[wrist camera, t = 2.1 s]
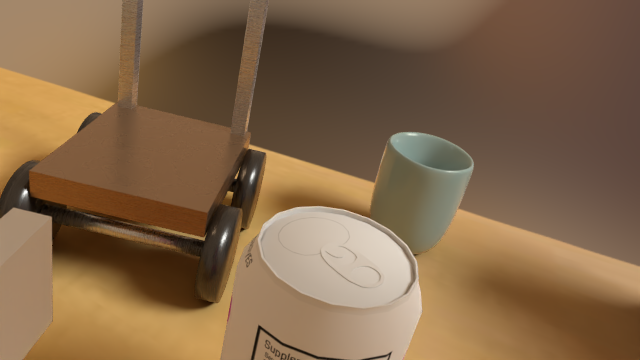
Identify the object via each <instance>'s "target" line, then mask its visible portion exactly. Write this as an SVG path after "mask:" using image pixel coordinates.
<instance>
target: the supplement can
mask: <svg viewBox="0 0 640 360" xmlns="http://www.w3.org/2000/svg"><path fill="white" fill-rule="evenodd" d="M418 280H419V276H418V264H417V261H416V259H415V257H414V256H413V254H412V252H411V251H410V249H409V247H408V246H407V244H405V243H404V242H403V241H402V240H401V239H400V238H399V237H398V236H396V235H395V234H394V233H393V232H392V231H391V230H389V229H388V228H386V227H384V226H382V225H380V224H379V223H377V222H375V221H373V220H372V219H370V218H367V217H364V216H361V215H359V214H356V213H353V212H350V211H347V210H343V209H336V208H330V207H323V206H311V207H296V208H293V209H289V210H286V211H283V212H279V213H277V214H276V215H274V216H273V217H272V218H271V219H269V220H268V221H267V222H265V223H264V224H263V226H262V229H261V232H260V233H259V234H258V235H257V236H256V237H255V238H254V239H253V240H252V241H251V242H250V243H249V244H248V245H247V246H246V247H245V249H244V251H243V253H242V256H241V258H240V261H239V263H238V266H237V270H236V276H235V281H234V287H233V292H232V298H231V303H230V309H229V314H228V320H227V325H226V331H225V336H224V342H223V347H222V353H221V359H220V360H403V359H404V356H405V354H406V351H407V349H408V346H409V344H410V341H411V339H412V336H413V334H414V331H415V329H416V326H417V324H418V321H419V319H420V316H421V314H422V302H421V291H420V286H419V282H418Z"/></svg>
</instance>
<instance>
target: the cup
mask: <svg viewBox="0 0 640 360" xmlns="http://www.w3.org/2000/svg"><path fill="white" fill-rule="evenodd" d="M473 168H474V163H473V160H472V158H471V157H470V156H469V155H468V154H467V153H466V152H465V151H464V150H462V149H461V148H459V147H458V146H456V145H454V144H453V143H451V142H449V141H446V140H444V139H442V138H439V137H436V136H432V135H428V134H423V133H417V132H402V133H398V134H395V135H392V136H391V137H390V139H389V140H388V142H387V145H386V148H385V151H384V154H383V157H382V161H381V164H380V167H379V170H378V174H377V177H376V181H375V185H374V189H373V193H372V199H371V205H370V219H372V220H373V221H375V222H377V223H379V224H380V225H382V226H384V227H386V228H388V229H389V230H391V231H392V232H393V233H394V234H395V235H396V236H398V237H399V238H400V239H401V240H402V241H403V242H404V243H405V244H407V246H408V247H409V249H410V251H411V252H412V254H420V253H424V252H427V251H429V250H431V249H432V248H433V247H435V246H436V245H437V244H438V243H439V242H440V241H441V239H442V238H443V237H444V235H445V234H446V232H447V230H448V229H449V227H450V225H451V223H452V221H453V219H454V216H455V214H456V212H457V210H458V207H459V205H460V202H461V200H462V198H463V195H464V192H465V190H466V187H467V185H468V182H469V179H470V177H471V174H472V171H473Z"/></svg>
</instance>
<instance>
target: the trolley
mask: <svg viewBox="0 0 640 360" xmlns="http://www.w3.org/2000/svg"><path fill="white" fill-rule="evenodd" d="M268 1H269V0H251V2H250V8H249V14H248V21H247V28H246V34H245V41H244V47H243V54H242V61H241V67H240V74H239V81H238V87H237V94H236V100H235V107H234V113H233V120H232V126H231V128H229V127H225V126H221V125H216V124H212V123H208V122H204V121H199V120H195V119H191V118H187V117H183V116H179V115H174V114H170V113H166V112H162V111H158V110H154V109H150V108H145V107H141V106H137V92H138V76H139V75H138V74H139V59H140V43H141V28H142V12H143V0H122V2H123V3H122V23H121V45H120V67H119V89H118V90H119V91H118V102H117V103H115V104H114V105H113V106H112V107H110V108H109V109H108V110H106V111H105V112H104V113H103V114H101V113H97V112H96V113H92V114H90V115H89V116H88V117H87V118H86V119H85V120H84V121H83V123H82V124H81V126H80V128H79V130H78V132H77V134H76V135H74V136H73V137H72V138H70V139H69V140H68V141H67V142H65V143H64V144H63V145H61V146H60V147H59V148H58V149H56V150H55V151H54V152H52V153H51V154H50V155H49V156H47V157H46V158H45V159H43V160H42V161H37V160H32V161H29V162H26V163H25V164H23V165H22V166H21V167H20V168H18V170H17V171H16V172H15V173H14V174H13V175H12V177H11V178H10V180H9V181H8V183H7V185H6V186H5V188H4V191H3V193H2V195H1V198H0V218H2V217H3V216H4V215H5V214H6V213H8V212H9V211H10V210H11V209H12V208H17V209H22V210H26V211H30V212H34V213H38V214H42V215H47V216H51V217H52V242H53V240H54V238H55V237H56V235H57V233H58V231H59V229H60V226H61V224H62V225H66V226H70V227H75V228H79V229H83V230H87V231H92V232H96V233H100V234H104V235H109V236H113V237H117V238H121V239H126V240H130V241H134V242H138V243H143V244H147V245H151V246H155V247H160V248H164V249H168V250H172V251H177V252H181V253H185V254H190V255H194V256H198V257H200V260H199V265H198V270H197V275H196V282H195V297H196V298H197V299H201V300H206V301H210V302H214V303H218V302H219V301H220V299H221V297H222V295H223V292H224V290H225V287H226V284H227V281H228V278H229V275H230V271H231V268H232V264H233V261H234V257H235V253H236V249H237V244H238V240H239V235H240V230H241V228H244V229H248V228H249V226H250V223H251V221H252V218H253V215H254V211H255V208H256V205H257V201H258V197H259V193H260V189H261V185H262V180H263V175H264V170H265V163H266V153H264V152H260V151H256V150H252V149H248V147H249V141H250V136H251V133H250V132H247V126H248V121H249V115H250V109H251V103H252V97H253V91H254V85H255V79H256V73H257V67H258V61H259V55H260V49H261V43H262V38H263V32H264V25H265V20H266V14H267V8H268ZM240 166H241V167H240ZM239 168H240V170H239ZM238 170H239V174H238V177H237V179H234V178H235V176H236V174H237V172H238ZM228 191H230V192H234V193H233V198H232V203H231V206H227V205H223V204H221V203H222V201H223V200H224V198H225V196H226V194H227V192H228ZM67 205H69V206H73V207H77V208H81V209H86V210H90V211H94V212H98V213H103V214H107V215H111V216H115V217H120V218H124V219H128V220H132V221H136V222H141V223H145V224H149V225H153V226H158V227H162V228H166V229H170V230H175V231H179V232H183V233H187V234H192V235H196V236H200V237H205V235H206V233H207V235H206V238H205V241H203V240H199V239H194V238H190V237H186V236H182V235H177V234H173V233H169V232H165V231H160V230H156V229H152V228H148V227H143V226H139V225H135V224H131V223H126V222H122V221H118V220H114V219H109V218H105V217H101V216H97V215H92V214H88V213H84V212H80V211H75V210H71V209H67ZM207 231H208V232H207Z"/></svg>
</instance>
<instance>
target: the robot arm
mask: <svg viewBox="0 0 640 360" xmlns="http://www.w3.org/2000/svg"><path fill="white" fill-rule="evenodd" d="M52 321H53V311H52V217H51V216H47V215H42V214H38V213H34V212H30V211H26V210H22V209H17V208H12V209H11V210H10V211H9V212H8V213H6V214H5V215H4V216H3V217H2V218H0V360H23V359H24V357H25V356H26V355H27V353H28V352H29V351H30V350H31V348H32V347H33V346H34V344H35V343H36V342H37V341H38V339H39V338H40V337H41V335H42V334H43V333H44V332H45V330H46V329H47V328H48V326H49V325H50V324H51V322H52Z"/></svg>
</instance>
